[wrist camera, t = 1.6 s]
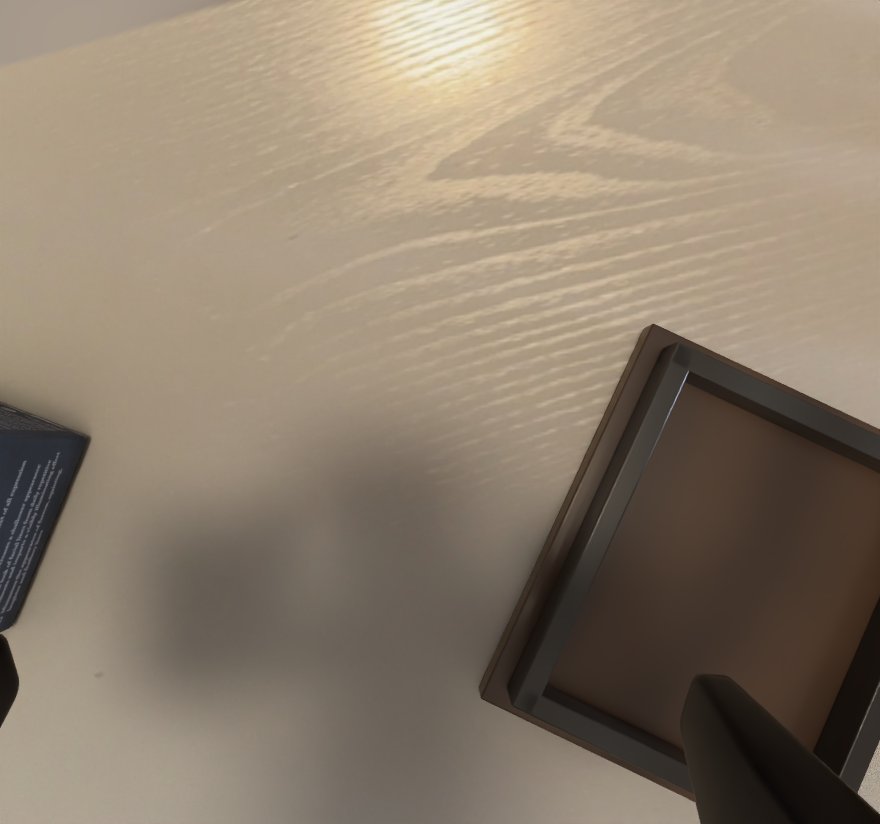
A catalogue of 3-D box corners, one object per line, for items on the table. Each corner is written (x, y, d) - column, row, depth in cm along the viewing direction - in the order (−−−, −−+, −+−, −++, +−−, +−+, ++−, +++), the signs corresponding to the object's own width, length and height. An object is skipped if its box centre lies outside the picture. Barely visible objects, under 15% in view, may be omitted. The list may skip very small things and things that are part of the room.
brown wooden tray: (478, 688, 23) (482, 717, 21) (643, 327, 24) (667, 313, 22) (796, 842, 23) (840, 890, 21) (954, 472, 24) (1015, 476, 21)
